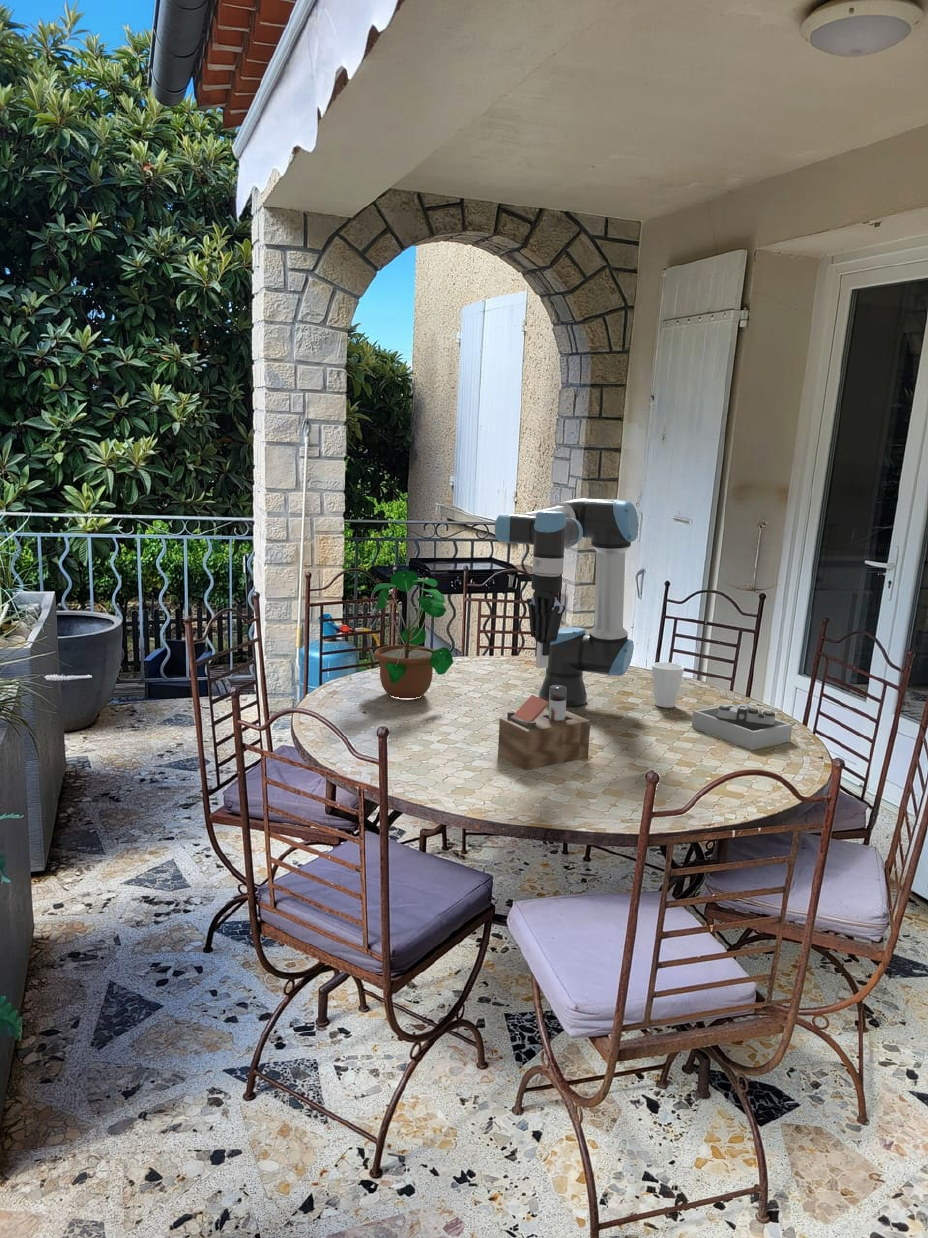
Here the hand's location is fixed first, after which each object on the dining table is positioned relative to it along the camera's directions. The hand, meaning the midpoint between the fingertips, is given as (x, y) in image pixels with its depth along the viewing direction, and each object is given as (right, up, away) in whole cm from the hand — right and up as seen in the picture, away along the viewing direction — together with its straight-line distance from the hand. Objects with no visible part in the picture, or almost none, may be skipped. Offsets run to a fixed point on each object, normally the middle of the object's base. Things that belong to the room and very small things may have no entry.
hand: (541, 667), depth 221 cm
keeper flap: (-3, -11, +1) cm, 12 cm away
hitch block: (+1, -23, +6) cm, 24 cm away
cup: (+44, -16, +57) cm, 74 cm away
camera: (+60, -22, +29) cm, 70 cm away
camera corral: (+60, -21, +31) cm, 70 cm away
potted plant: (-35, -12, +58) cm, 69 cm away
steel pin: (+4, -21, +8) cm, 23 cm away
